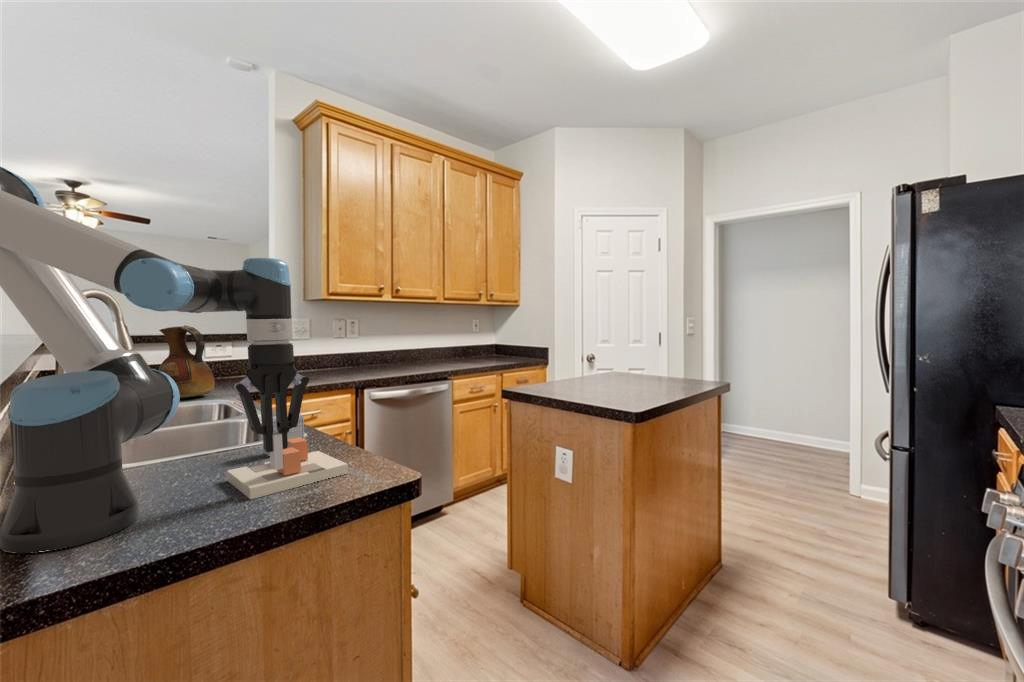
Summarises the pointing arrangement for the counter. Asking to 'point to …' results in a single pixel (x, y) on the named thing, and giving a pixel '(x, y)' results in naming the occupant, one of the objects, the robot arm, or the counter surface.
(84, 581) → the counter surface
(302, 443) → the far tab
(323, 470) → the switch bank
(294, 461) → the near tab
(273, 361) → the robot arm
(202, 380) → the ceramic pitcher
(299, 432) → the medicine box
